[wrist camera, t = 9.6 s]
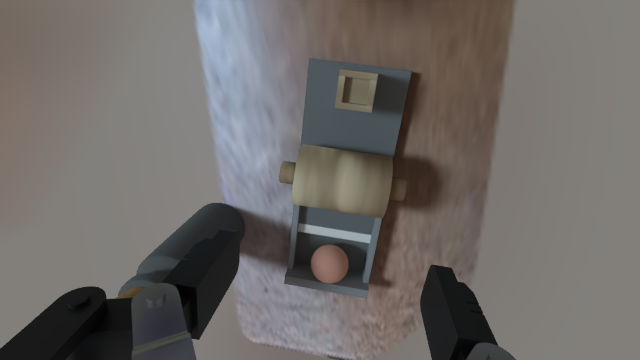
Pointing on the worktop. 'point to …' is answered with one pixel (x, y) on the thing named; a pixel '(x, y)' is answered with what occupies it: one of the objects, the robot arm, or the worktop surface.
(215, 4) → the worktop surface
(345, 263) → the ball
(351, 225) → the grey long tray
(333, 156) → the maple rolling pin
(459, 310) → the robot arm
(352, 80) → the light wooden block
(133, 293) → the bottle
